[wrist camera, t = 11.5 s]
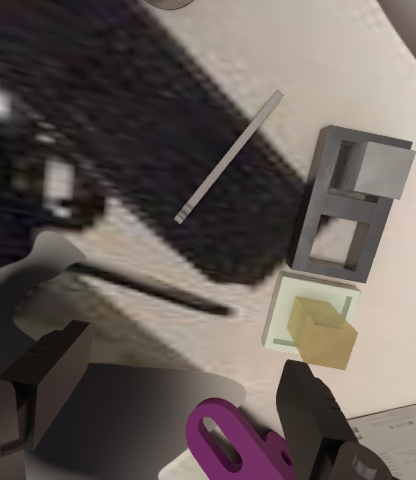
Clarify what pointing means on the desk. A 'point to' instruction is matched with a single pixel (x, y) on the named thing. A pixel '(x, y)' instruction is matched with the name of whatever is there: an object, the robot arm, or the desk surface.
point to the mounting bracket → (236, 446)
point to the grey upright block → (372, 170)
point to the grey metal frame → (339, 210)
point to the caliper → (228, 157)
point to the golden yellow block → (321, 333)
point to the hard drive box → (390, 439)
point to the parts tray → (310, 288)
